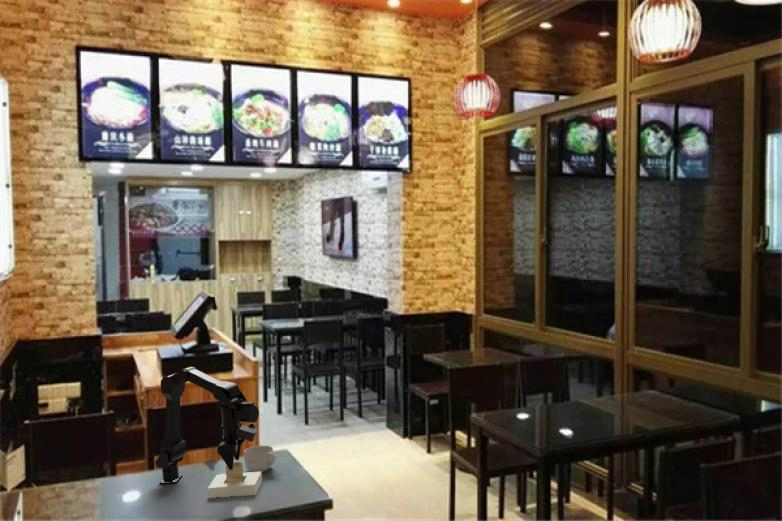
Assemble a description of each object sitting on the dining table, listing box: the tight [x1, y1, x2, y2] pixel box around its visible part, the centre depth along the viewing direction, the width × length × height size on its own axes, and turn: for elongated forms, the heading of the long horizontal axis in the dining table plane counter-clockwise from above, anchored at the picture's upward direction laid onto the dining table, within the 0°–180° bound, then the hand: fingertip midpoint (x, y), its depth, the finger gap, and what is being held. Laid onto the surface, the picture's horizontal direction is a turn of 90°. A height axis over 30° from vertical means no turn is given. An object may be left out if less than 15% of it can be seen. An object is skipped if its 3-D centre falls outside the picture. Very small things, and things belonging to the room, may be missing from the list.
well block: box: [207, 471, 263, 499], centre depth 218 cm, size 12×16×4 cm
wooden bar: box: [225, 461, 244, 483], centre depth 218 cm, size 4×5×9 cm
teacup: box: [243, 445, 277, 473], centre depth 234 cm, size 14×11×8 cm
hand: (234, 464), depth 218 cm, fingers open, 9 cm apart
